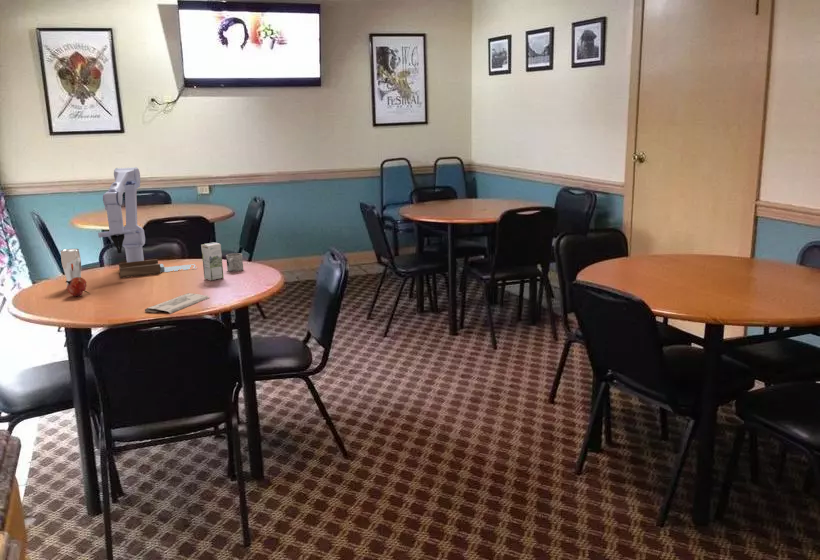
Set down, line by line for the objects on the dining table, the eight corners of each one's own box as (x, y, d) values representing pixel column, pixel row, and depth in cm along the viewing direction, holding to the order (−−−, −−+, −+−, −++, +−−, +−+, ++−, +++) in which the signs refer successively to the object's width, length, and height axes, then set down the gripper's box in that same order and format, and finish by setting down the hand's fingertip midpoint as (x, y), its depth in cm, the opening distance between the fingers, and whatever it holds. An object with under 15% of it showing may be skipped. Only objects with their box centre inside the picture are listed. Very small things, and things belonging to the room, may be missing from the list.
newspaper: (182, 297, 261) (181, 291, 261) (210, 302, 257) (209, 296, 257) (138, 313, 241) (138, 306, 240) (168, 319, 237) (168, 312, 236)
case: (119, 272, 309) (118, 263, 308) (158, 268, 315) (157, 259, 314) (120, 277, 297) (119, 268, 296) (160, 273, 303) (159, 264, 302)
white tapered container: (72, 285, 287) (66, 248, 284) (88, 285, 286) (82, 248, 283) (61, 289, 280) (56, 251, 277) (78, 289, 279) (72, 251, 276)
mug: (230, 268, 308) (228, 253, 306) (245, 268, 307) (243, 253, 306) (223, 273, 298) (221, 258, 296) (238, 273, 298) (237, 257, 296)
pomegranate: (84, 298, 274) (59, 286, 268) (94, 282, 274) (70, 270, 268) (86, 304, 268) (60, 292, 262) (97, 288, 268) (71, 275, 262)
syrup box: (216, 276, 292) (213, 241, 289) (224, 278, 288) (220, 243, 285) (204, 279, 288) (200, 244, 285) (211, 281, 284) (207, 245, 281)
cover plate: (159, 269, 314) (158, 263, 313) (194, 265, 320) (194, 259, 319) (161, 274, 304) (160, 267, 304) (197, 270, 310) (196, 263, 309)
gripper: (96, 223, 290) (101, 256, 293) (134, 220, 295) (138, 252, 298) (96, 221, 296) (101, 253, 299) (133, 218, 302) (137, 249, 305)
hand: (119, 252), depth 299 cm, fingers closed
